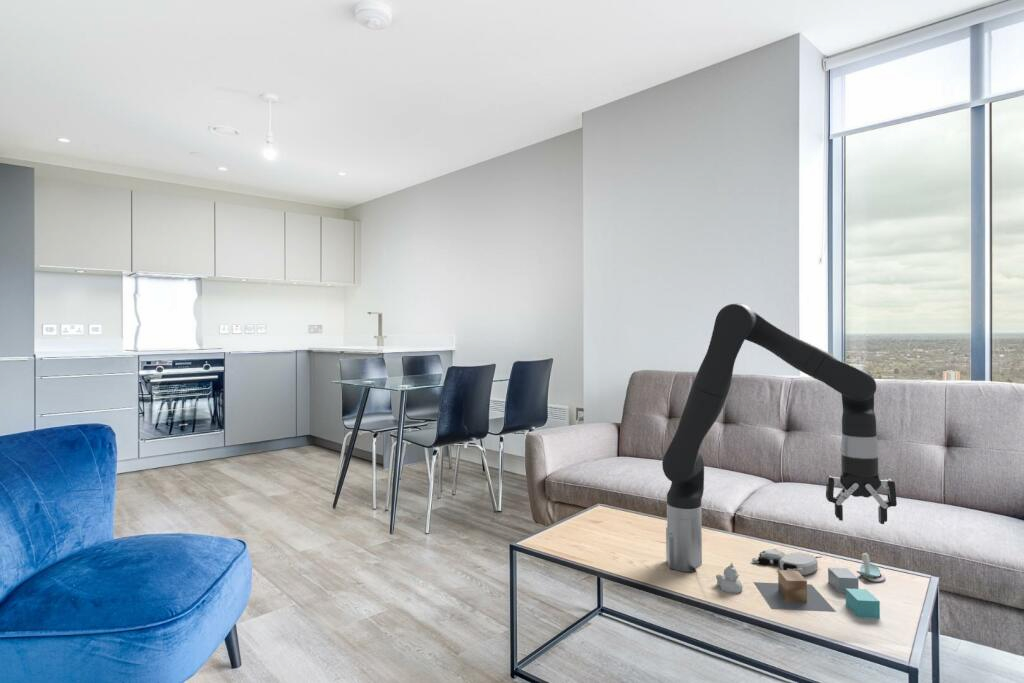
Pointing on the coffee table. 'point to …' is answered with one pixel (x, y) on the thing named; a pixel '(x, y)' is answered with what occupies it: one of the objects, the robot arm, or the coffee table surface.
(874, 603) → the teal brick
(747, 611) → the coffee table surface
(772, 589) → the base plate
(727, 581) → the rubber duck
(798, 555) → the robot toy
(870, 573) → the pacifier
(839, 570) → the grey brick
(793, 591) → the base brick
